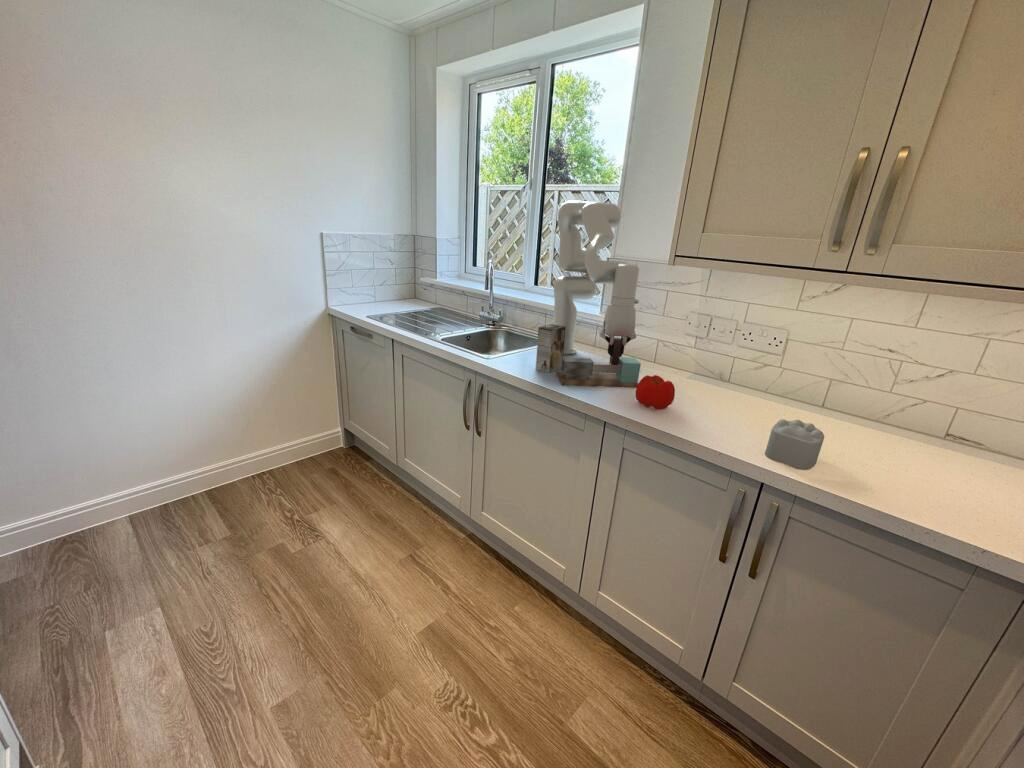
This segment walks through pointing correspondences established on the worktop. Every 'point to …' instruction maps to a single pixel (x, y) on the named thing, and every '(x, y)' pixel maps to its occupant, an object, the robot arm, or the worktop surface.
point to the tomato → (655, 392)
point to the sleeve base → (596, 381)
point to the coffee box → (550, 347)
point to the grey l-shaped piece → (612, 365)
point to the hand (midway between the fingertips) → (615, 355)
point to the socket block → (629, 370)
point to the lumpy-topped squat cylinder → (794, 444)
